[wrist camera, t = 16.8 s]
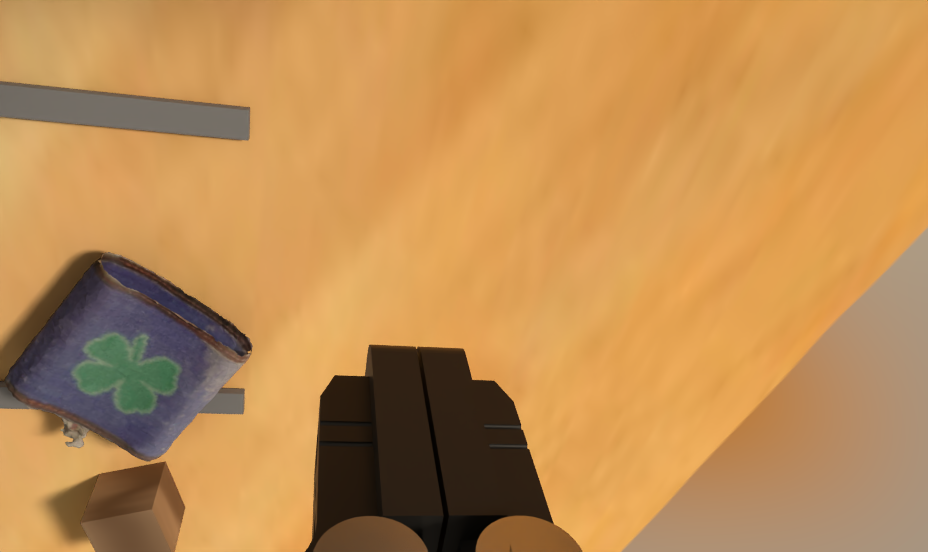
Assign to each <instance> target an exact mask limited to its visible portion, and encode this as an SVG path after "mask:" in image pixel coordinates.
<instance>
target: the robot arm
mask: <svg viewBox="0 0 928 552" xmlns="http://www.w3.org/2000/svg"><path fill="white" fill-rule="evenodd" d="M305 552H582V550H581V548H580V547H579V545H578V544H577V543H576V541H575V540H574V539H573V538H572V537H571V536H570V535H569V534H568V533H566V532H565V531H564V530H562V529H561V528H560V527H558V526H556V525H554V523H553V521H552V518H551V515H550V512H549V508H548V505H547V502H546V499H545V496H544V493H543V490H542V487H541V484H540V481H539V478H538V475H537V472H536V469H535V466H534V463H533V460H532V457H531V454H530V450H529V449H527V441H526V438H525V435H524V432H523V430H521V423H520V420H519V417H518V414H517V411H516V408H515V405H514V402H513V401H512V399H511V398H510V397H509V396H508V395H507V394H506V393H505V392H504V391H503V390H502V389H501V388H500V386H499V385H498V384H497V383H496V382H495V381H486V380H472V377H471V373H470V369H469V366H468V362H467V358H466V354H465V351H464V349H460V348H437V347H417V349H416V347H411V346H388V345H369V348H368V354H367V363H366V372H365V376H338V375H335V376H334V377H333V379H332V380H331V382H330V383H329V385H328V386H327V387H326V389H325V390H324V392H323V393H322V395H321V396H320V408H319V421H318V434H317V447H316V459H315V474H314V502H313V528H312V542H311V543H310V545H309V547H308V548H307V550H306V551H305Z"/></svg>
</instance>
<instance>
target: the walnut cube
mask: <svg viewBox="0 0 928 552" xmlns="http://www.w3.org/2000/svg"><path fill="white" fill-rule="evenodd" d="M184 510H185V506H184V503H183V501H182V499H181V496H180V494H179V492H178V489H177V487H176V485H175V482H174V480H173V478H172V475H171V473H170V471H169V468H168V466H167V464H166V462H160V463H155V464H150V465H144V466H139V467H134V468H128V469H123V470H118V471H113V472H107V473H102V474H99V476H98V479H97V482H96V484H95V487H94V489H93V492H92V494H91V497H90V500H89V502H88V505H87V507H86V510H85V512H84V515H83V518H82V520H81V523H80V524H81V525H82V527H83V529H84V531H85V533H86V535H87V537H88V538H89V540H90V542H91V544H92V546H93V548H94V550H95V552H175V548H176V544H177V540H178V536H179V531H180V527H181V523H182V519H183V514H184Z"/></svg>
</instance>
